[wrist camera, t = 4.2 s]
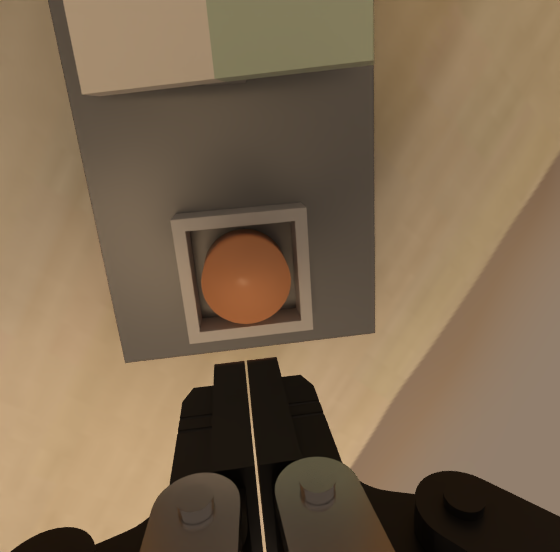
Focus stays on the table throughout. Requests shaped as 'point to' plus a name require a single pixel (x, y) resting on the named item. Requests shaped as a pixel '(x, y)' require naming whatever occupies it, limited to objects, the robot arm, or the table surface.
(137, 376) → the table surface
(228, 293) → the button
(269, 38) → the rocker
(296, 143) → the panel
